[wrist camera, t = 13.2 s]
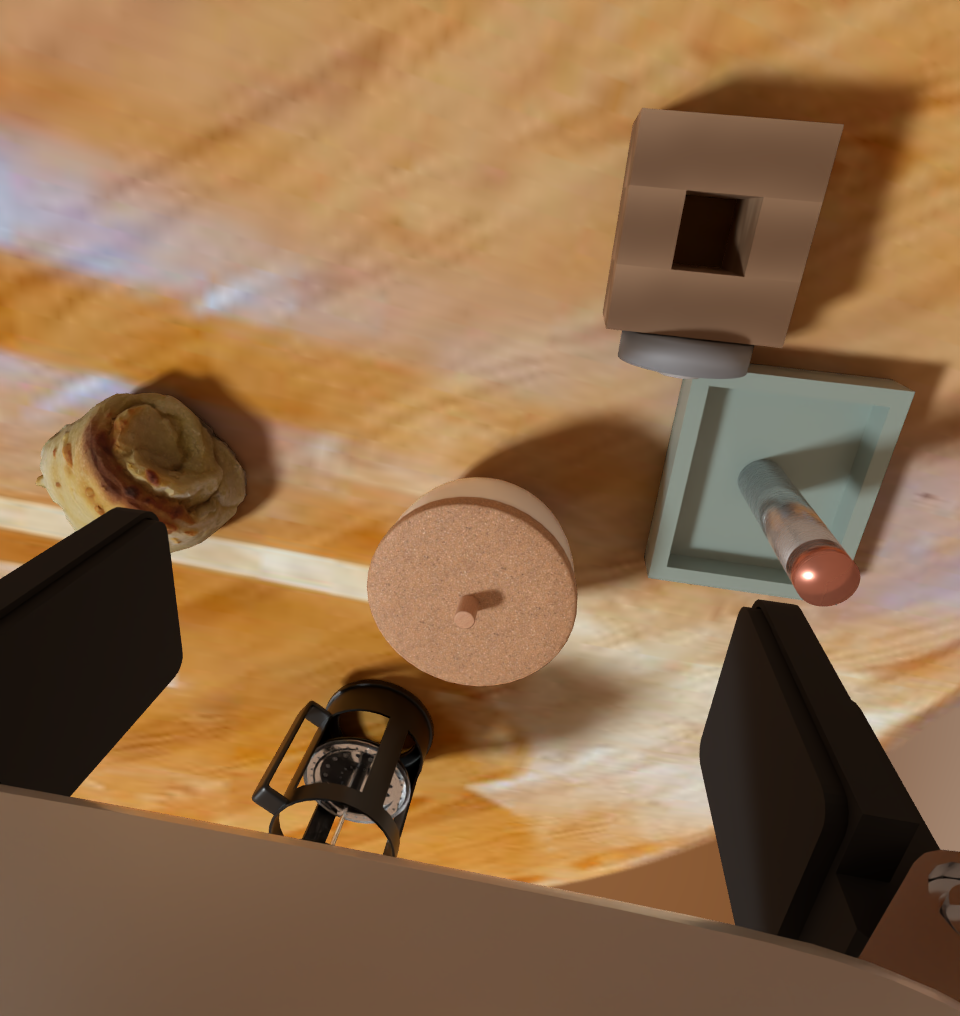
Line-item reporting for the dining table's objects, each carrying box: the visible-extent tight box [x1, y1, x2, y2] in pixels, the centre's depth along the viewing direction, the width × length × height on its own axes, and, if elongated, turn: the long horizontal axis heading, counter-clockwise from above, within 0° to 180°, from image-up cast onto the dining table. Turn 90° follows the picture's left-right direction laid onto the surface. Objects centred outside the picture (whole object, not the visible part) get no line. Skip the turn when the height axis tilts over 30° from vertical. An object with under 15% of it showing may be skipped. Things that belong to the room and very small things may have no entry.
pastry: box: [36, 393, 247, 553], centre depth 45 cm, size 14×12×8 cm
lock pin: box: [738, 459, 860, 606], centre depth 36 cm, size 3×3×12 cm
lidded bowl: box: [367, 477, 577, 686], centre depth 42 cm, size 13×13×11 cm
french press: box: [252, 680, 434, 857], centre depth 46 cm, size 12×9×23 cm
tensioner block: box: [603, 108, 844, 379], centre depth 35 cm, size 12×9×8 cm
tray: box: [644, 364, 915, 605], centre depth 41 cm, size 14×12×3 cm
